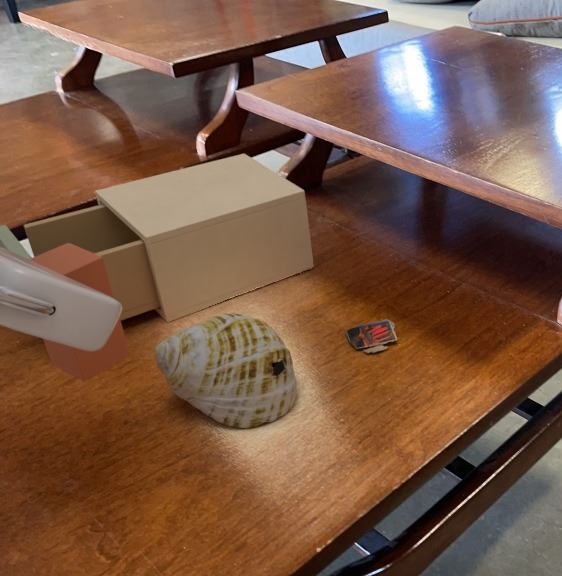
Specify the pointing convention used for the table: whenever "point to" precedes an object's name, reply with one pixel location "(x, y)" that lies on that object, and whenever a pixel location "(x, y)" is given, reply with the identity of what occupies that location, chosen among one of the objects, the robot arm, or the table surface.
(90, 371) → the block
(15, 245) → the drawer
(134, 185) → the cabinet
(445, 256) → the table surface
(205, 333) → the seashell
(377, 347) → the matchbox
